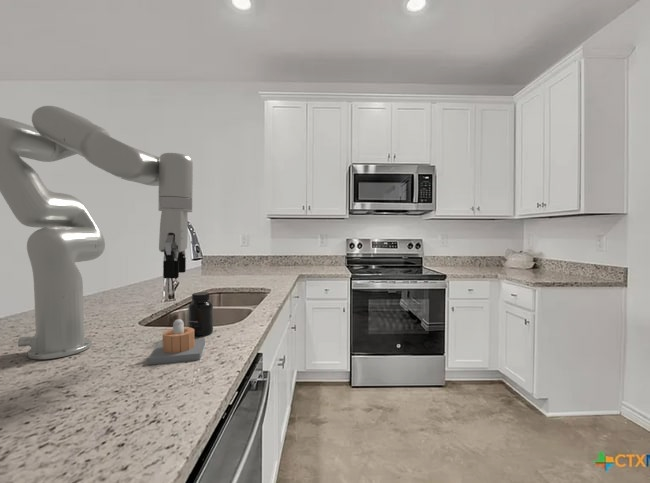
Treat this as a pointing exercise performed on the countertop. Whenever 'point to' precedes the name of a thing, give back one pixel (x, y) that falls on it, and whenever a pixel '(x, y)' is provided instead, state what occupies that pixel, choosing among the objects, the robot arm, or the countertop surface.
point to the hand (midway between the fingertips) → (175, 275)
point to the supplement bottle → (200, 314)
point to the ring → (178, 340)
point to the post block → (165, 357)
